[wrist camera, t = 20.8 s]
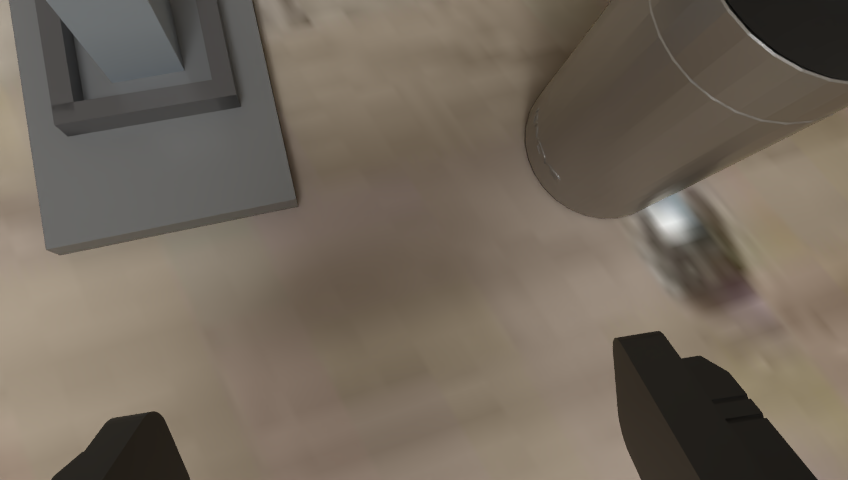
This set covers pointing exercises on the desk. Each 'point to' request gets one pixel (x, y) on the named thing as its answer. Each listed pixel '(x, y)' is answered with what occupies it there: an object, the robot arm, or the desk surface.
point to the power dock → (150, 130)
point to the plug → (124, 35)
